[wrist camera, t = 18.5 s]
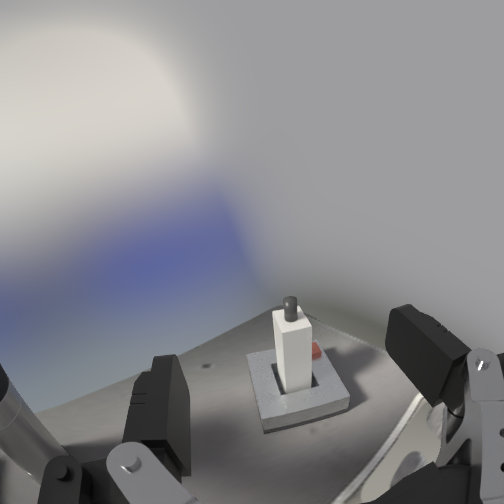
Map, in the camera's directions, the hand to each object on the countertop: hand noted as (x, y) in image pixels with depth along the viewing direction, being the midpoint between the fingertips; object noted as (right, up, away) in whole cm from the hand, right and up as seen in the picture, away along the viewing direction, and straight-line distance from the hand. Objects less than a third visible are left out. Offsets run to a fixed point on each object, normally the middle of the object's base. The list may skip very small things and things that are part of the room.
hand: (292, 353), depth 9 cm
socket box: (+6, -20, +33) cm, 39 cm away
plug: (+5, -19, +33) cm, 38 cm away
